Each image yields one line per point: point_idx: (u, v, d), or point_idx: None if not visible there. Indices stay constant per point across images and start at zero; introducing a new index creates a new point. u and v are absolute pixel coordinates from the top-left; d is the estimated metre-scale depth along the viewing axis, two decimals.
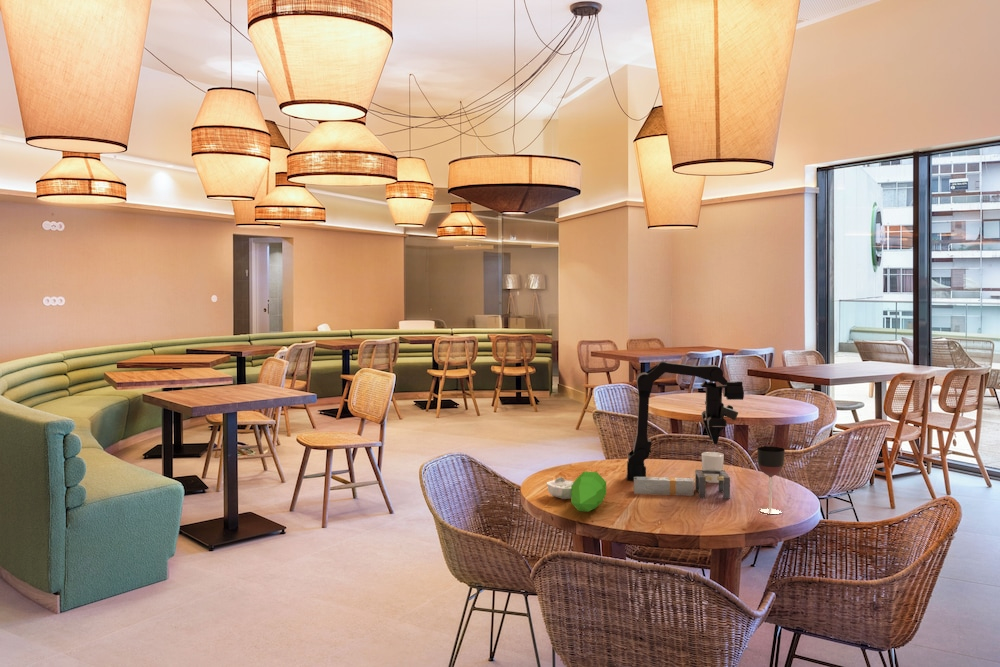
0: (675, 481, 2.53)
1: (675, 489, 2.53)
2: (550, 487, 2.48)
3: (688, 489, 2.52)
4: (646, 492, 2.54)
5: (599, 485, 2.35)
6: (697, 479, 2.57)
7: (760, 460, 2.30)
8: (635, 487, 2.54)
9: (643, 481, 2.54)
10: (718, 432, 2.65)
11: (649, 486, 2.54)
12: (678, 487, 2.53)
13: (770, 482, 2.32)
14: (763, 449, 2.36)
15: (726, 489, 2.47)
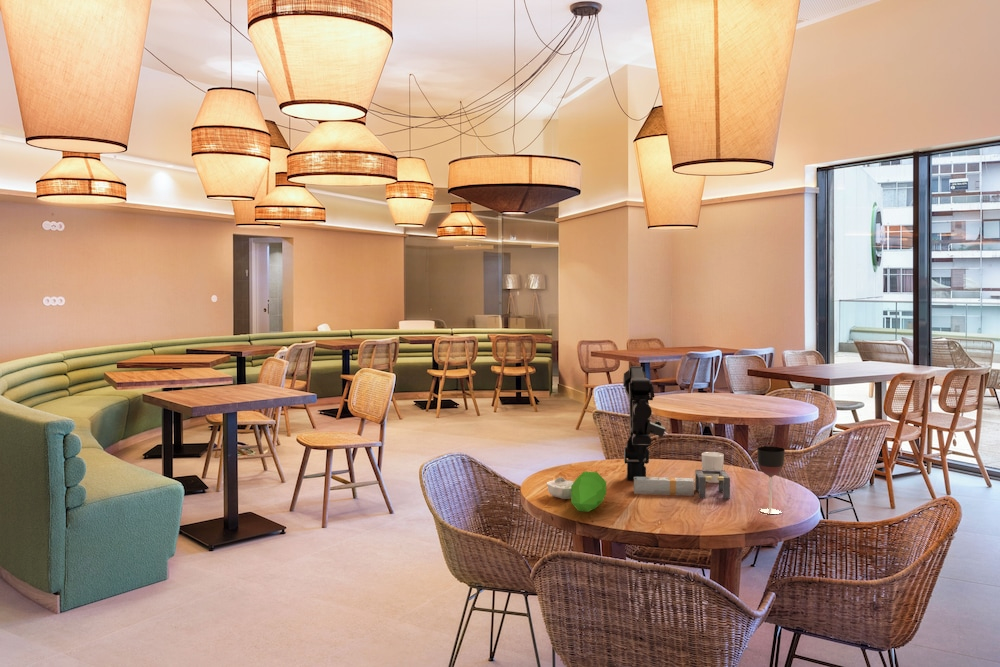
0: (675, 481, 2.53)
1: (675, 489, 2.53)
2: (550, 487, 2.48)
3: (688, 489, 2.52)
4: (646, 492, 2.54)
5: (599, 485, 2.35)
6: (697, 479, 2.57)
7: (760, 460, 2.30)
8: (635, 487, 2.54)
9: (643, 481, 2.54)
10: (643, 450, 2.50)
11: (649, 486, 2.54)
12: (678, 487, 2.53)
13: (770, 482, 2.32)
14: (763, 449, 2.36)
15: (726, 489, 2.47)
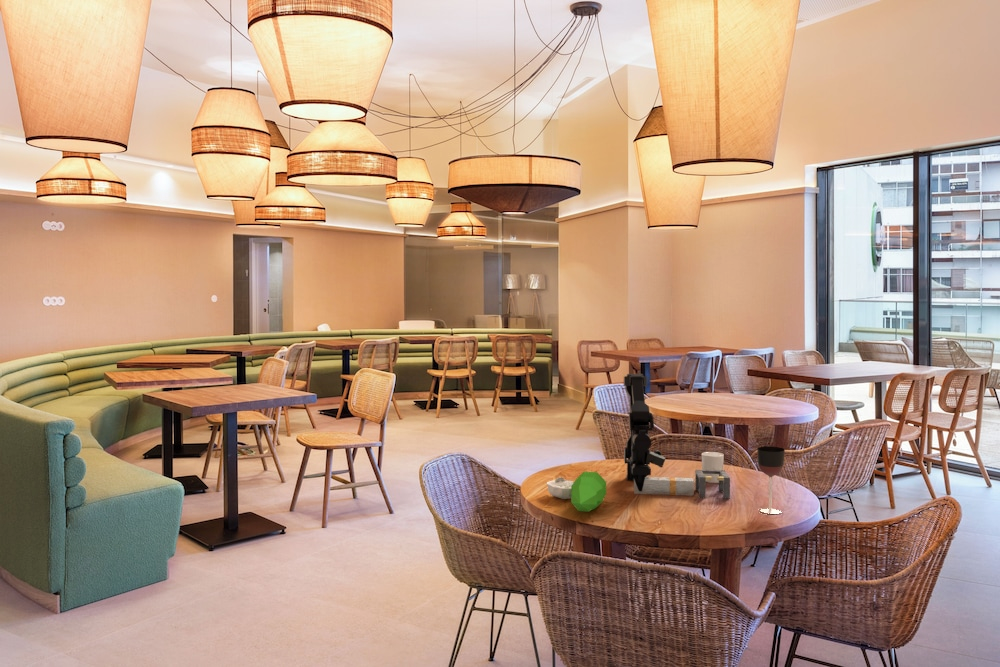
0: (675, 481, 2.53)
1: (675, 489, 2.53)
2: (550, 487, 2.48)
3: (688, 489, 2.52)
4: (646, 492, 2.54)
5: (599, 485, 2.35)
6: (697, 479, 2.57)
7: (760, 460, 2.30)
8: (635, 487, 2.54)
9: None
10: (643, 479, 2.52)
11: (649, 486, 2.54)
12: (678, 487, 2.53)
13: (770, 482, 2.32)
14: (763, 449, 2.36)
15: (726, 489, 2.47)
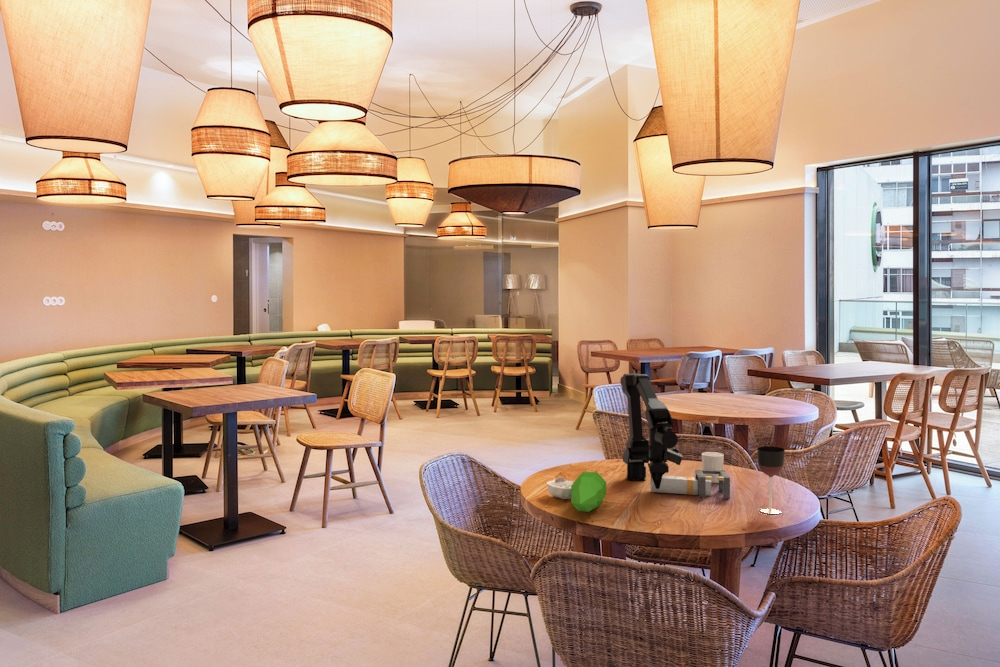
0: (693, 481, 2.52)
1: (692, 489, 2.52)
2: (550, 487, 2.48)
3: (706, 490, 2.51)
4: (663, 490, 2.53)
5: (599, 485, 2.35)
6: None
7: (760, 460, 2.30)
8: (652, 485, 2.54)
9: None
10: (660, 476, 2.52)
11: (666, 485, 2.53)
12: (695, 487, 2.52)
13: (770, 482, 2.32)
14: (763, 449, 2.36)
15: (726, 489, 2.47)
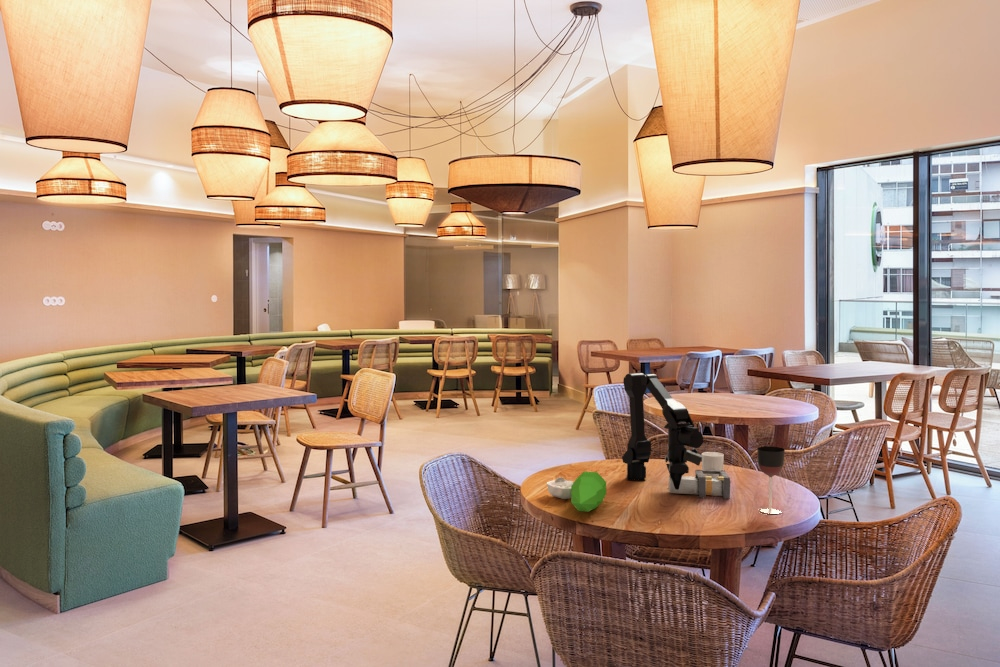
0: (711, 481, 2.51)
1: (711, 489, 2.51)
2: (550, 487, 2.48)
3: None
4: (682, 491, 2.52)
5: (599, 485, 2.35)
6: None
7: (760, 460, 2.30)
8: (671, 486, 2.53)
9: None
10: (679, 477, 2.51)
11: (685, 486, 2.52)
12: (714, 488, 2.51)
13: (770, 482, 2.32)
14: (763, 449, 2.36)
15: (726, 489, 2.47)
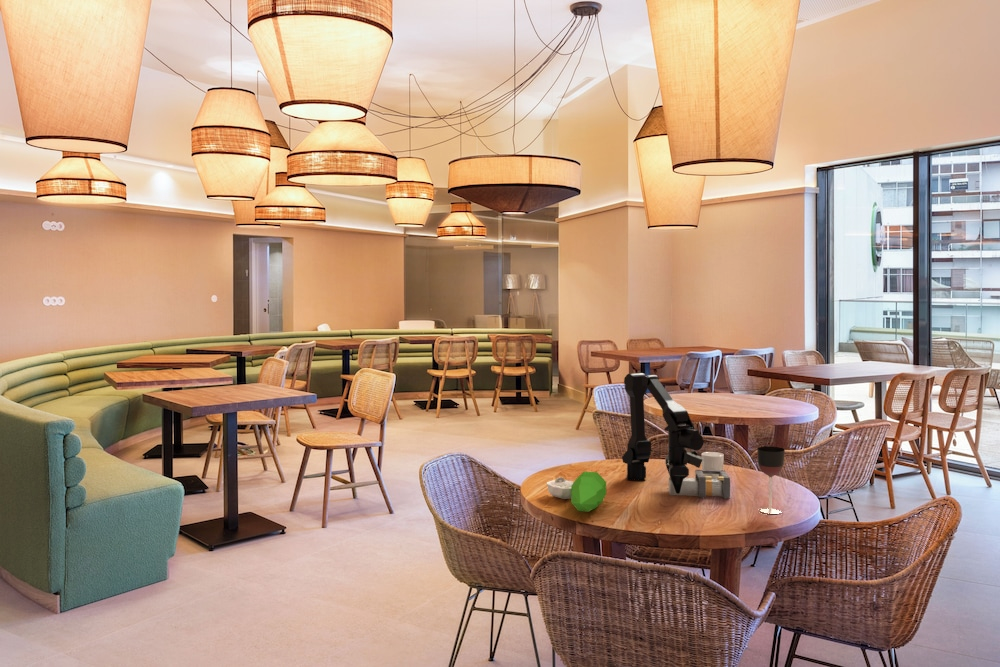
0: (711, 482, 2.51)
1: (711, 490, 2.51)
2: (550, 487, 2.48)
3: None
4: (682, 493, 2.52)
5: (599, 485, 2.35)
6: None
7: (760, 460, 2.30)
8: (671, 488, 2.53)
9: None
10: (680, 481, 2.49)
11: (685, 487, 2.52)
12: (714, 488, 2.51)
13: (770, 482, 2.32)
14: (763, 449, 2.36)
15: (726, 489, 2.47)
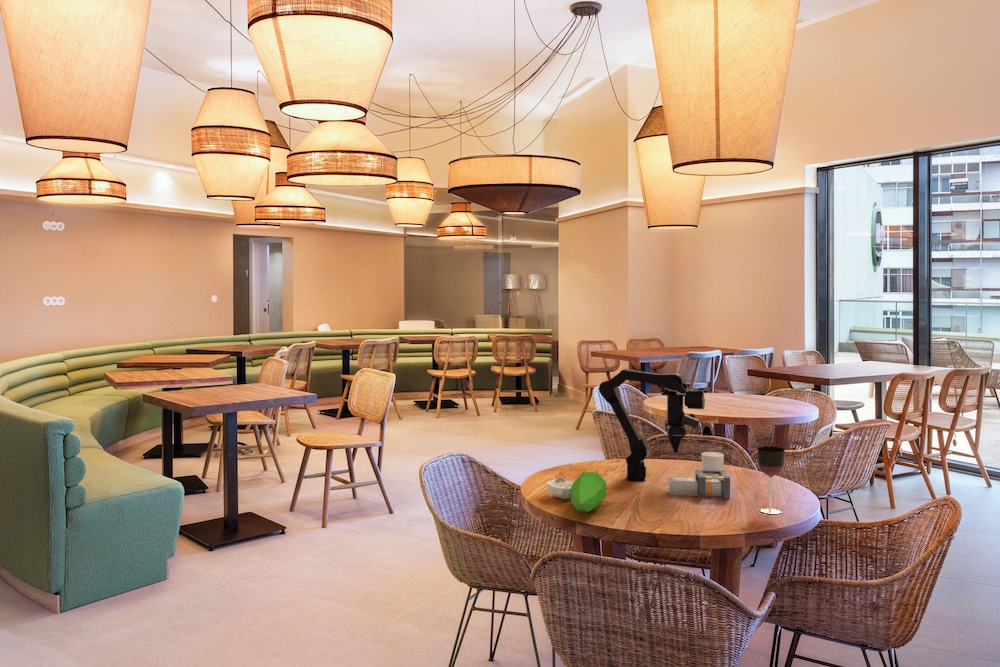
0: (711, 482, 2.51)
1: (711, 490, 2.51)
2: (550, 487, 2.48)
3: None
4: (682, 493, 2.52)
5: (599, 485, 2.35)
6: None
7: (760, 460, 2.30)
8: (671, 488, 2.53)
9: (679, 482, 2.52)
10: (678, 441, 2.63)
11: (685, 487, 2.52)
12: (714, 488, 2.51)
13: (770, 482, 2.32)
14: (763, 449, 2.36)
15: (726, 489, 2.47)
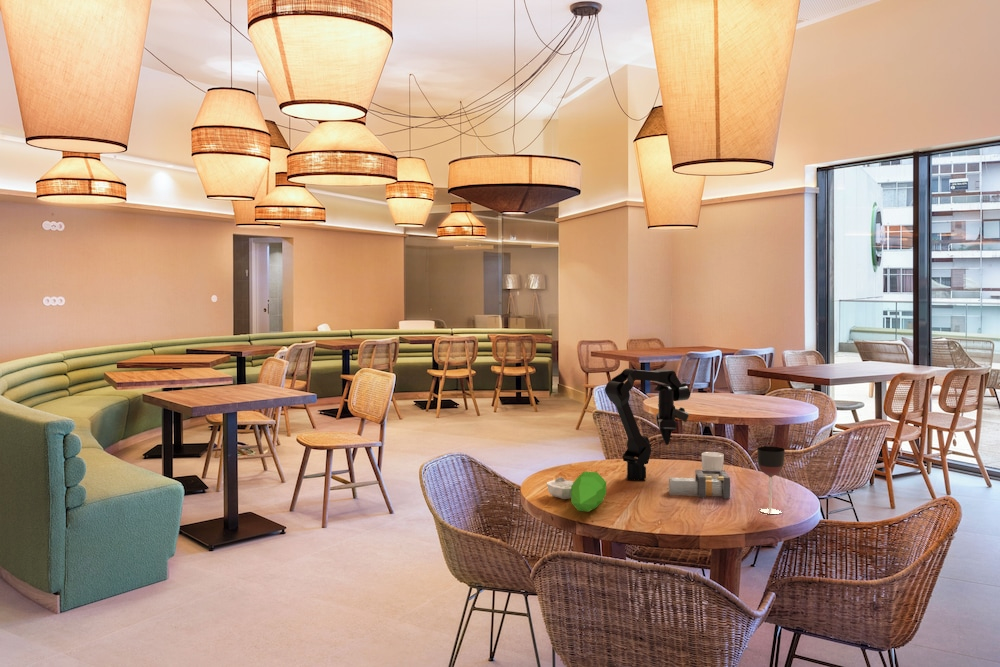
0: (711, 482, 2.51)
1: (711, 490, 2.51)
2: (550, 487, 2.48)
3: None
4: (682, 493, 2.52)
5: (599, 485, 2.35)
6: None
7: (760, 460, 2.30)
8: (671, 488, 2.53)
9: (679, 482, 2.52)
10: (669, 433, 2.77)
11: (685, 487, 2.52)
12: (714, 488, 2.51)
13: (770, 482, 2.32)
14: (763, 449, 2.36)
15: (726, 489, 2.47)
